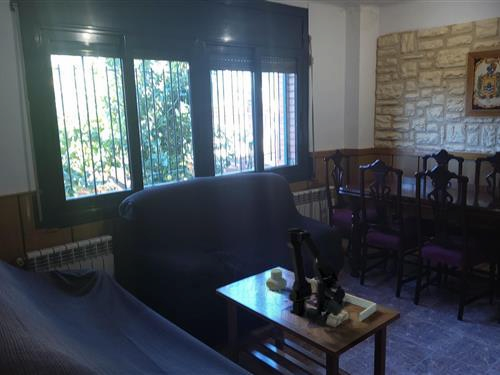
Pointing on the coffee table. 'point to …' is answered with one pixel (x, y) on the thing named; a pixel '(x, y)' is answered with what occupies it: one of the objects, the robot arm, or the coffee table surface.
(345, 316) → the tile
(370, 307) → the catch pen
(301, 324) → the coffee table surface
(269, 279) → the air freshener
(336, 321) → the tile
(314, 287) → the ceramic mug
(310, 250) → the robot arm
